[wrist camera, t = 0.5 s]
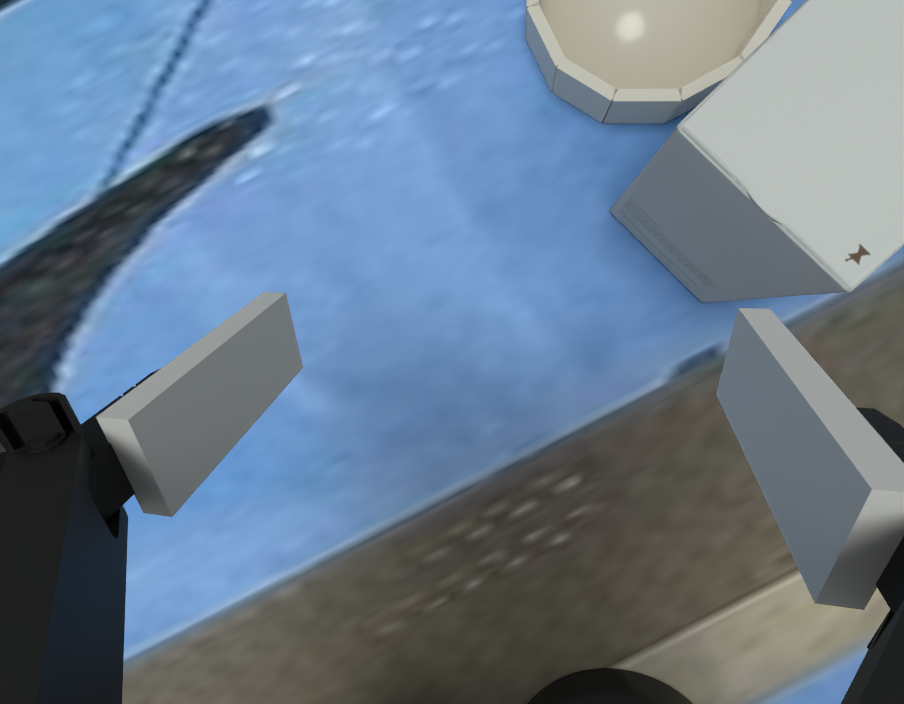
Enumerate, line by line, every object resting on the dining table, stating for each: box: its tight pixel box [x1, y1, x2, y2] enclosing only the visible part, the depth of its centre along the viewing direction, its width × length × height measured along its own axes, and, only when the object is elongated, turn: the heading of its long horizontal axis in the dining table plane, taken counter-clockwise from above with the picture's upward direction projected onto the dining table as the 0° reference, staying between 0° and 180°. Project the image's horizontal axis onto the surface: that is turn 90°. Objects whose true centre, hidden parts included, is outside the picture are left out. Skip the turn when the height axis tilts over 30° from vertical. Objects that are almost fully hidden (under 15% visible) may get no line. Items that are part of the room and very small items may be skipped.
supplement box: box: [610, 0, 904, 302], centre depth 25 cm, size 9×9×15 cm
